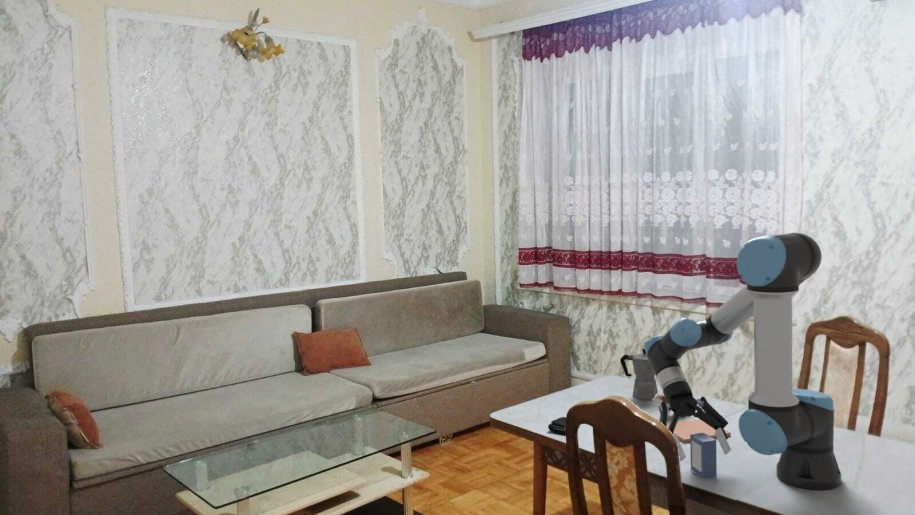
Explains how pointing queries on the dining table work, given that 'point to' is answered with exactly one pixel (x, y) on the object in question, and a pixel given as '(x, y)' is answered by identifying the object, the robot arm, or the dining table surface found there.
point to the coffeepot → (641, 376)
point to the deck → (703, 455)
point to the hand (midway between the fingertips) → (705, 455)
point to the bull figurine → (660, 400)
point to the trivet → (693, 429)
